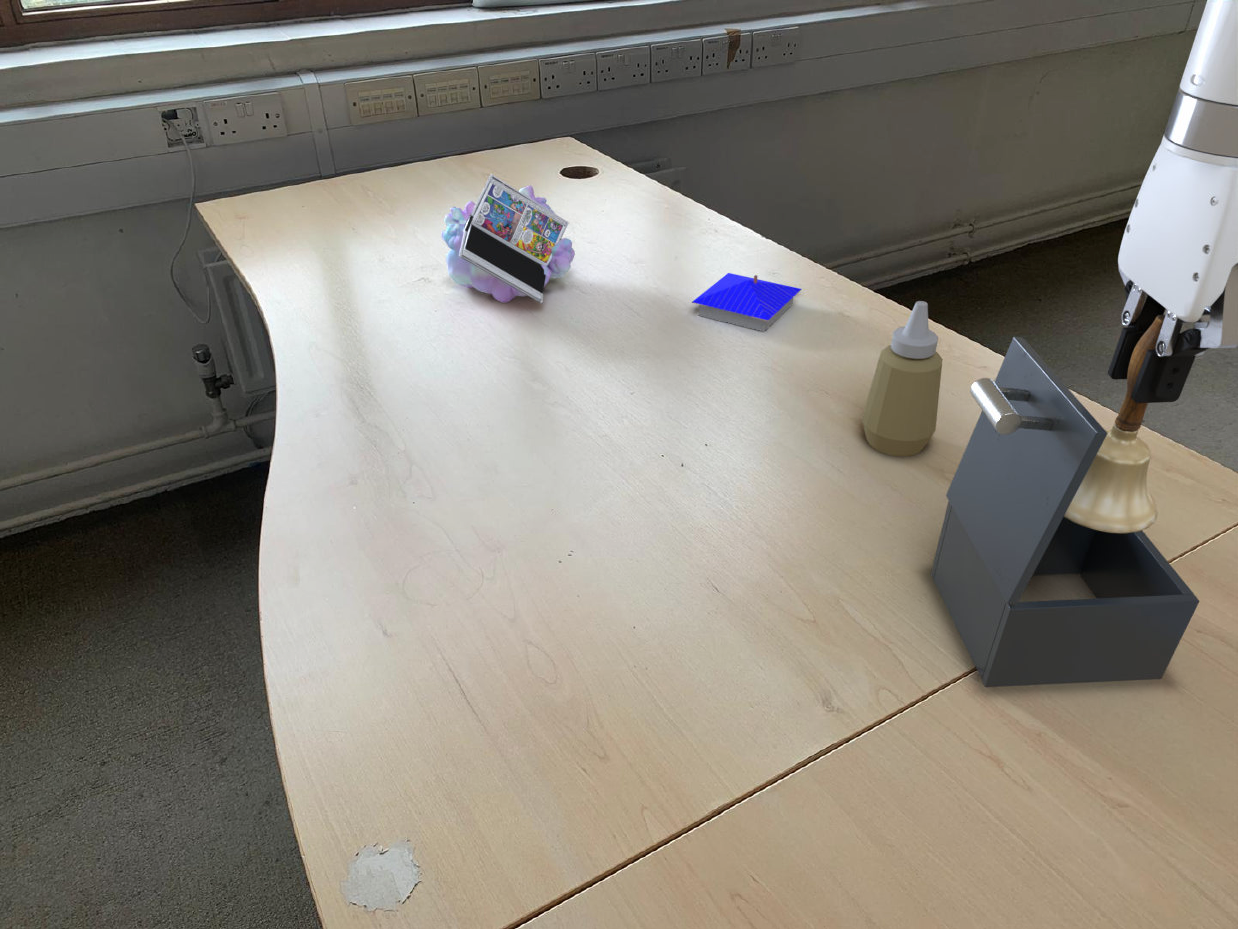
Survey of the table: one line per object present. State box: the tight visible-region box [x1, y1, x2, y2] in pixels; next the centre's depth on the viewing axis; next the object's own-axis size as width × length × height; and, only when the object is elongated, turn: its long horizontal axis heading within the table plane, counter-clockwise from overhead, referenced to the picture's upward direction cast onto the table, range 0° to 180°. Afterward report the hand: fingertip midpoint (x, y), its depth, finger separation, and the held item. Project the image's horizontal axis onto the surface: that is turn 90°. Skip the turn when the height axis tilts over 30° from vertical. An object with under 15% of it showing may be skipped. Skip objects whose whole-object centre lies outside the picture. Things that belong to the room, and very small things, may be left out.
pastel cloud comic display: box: [440, 173, 576, 304], centre depth 137 cm, size 20×22×18 cm
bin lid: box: [945, 336, 1108, 605], centre depth 68 cm, size 16×14×5 cm
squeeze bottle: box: [861, 300, 943, 457], centre depth 98 cm, size 8×8×18 cm
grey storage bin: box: [930, 501, 1200, 688], centre depth 76 cm, size 15×14×10 cm
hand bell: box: [1064, 315, 1166, 533], centre depth 66 cm, size 8×8×16 cm
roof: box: [691, 272, 802, 332], centre depth 131 cm, size 12×12×5 cm
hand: (1141, 386), depth 65 cm, fingers closed on hand bell, 2 cm apart
